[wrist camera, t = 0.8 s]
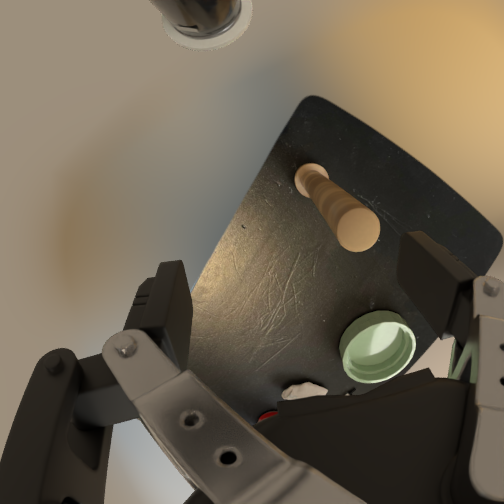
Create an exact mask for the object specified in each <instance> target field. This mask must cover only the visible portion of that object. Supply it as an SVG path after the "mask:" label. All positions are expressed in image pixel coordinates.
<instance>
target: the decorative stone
mask: <svg viewBox="0 0 504 504" xmlns="http://www.w3.org/2000/svg"><path fill="white" fill-rule="evenodd" d="M327 392H328V390H327V389H325V388H324V387H320V386H318V385H314V384H312V383H310V382H305V383H303V384H300V385H292V386H290V387H289V388H287V389H286V390H284V391H283V393H282V397H283V399H288V400H292V399H298V398H304V397H310V396H316V395H326V393H327Z"/></svg>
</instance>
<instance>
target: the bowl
mask: <svg viewBox="0 0 504 504" xmlns="http://www.w3.org/2000/svg"><path fill="white" fill-rule="evenodd" d="M339 351H340V357H341V360H342V364H343V368H344V370H345V371H346V373H347V374H348V376H349V377H351V378H352V379H354V380H356V381H358V382H363V383H377V382H381V381H384V380H387V379H389V378H391V377H393V376H395V375H396V374H398V373H399V372H400V371H401V370H402V369H404V368H405V367H406V366H407V364H408V363H409V361H410V360H411V358H412V357H413V354H414V351H415V337H414V334H413V332H412V330H411V329H410V327H409V325H408V324H407V322H406V321H405V319H403V318H402V317H401V316H400V315H399V314H397V313H394V312H391V311H375V312H371V313H368V314H365V315H363V316H362V317H360V318H358V319H356V320H355V321H354V322H353V323H352V324H351V325H350V326H349V327H348V328H347V329H346V330H345V332H344V334H343V336H342V337H341V340H340V345H339Z"/></svg>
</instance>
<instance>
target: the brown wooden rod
mask: <svg viewBox="0 0 504 504" xmlns="http://www.w3.org/2000/svg"><path fill="white" fill-rule="evenodd" d="M294 182H295V186H296V188H297V189H298V191H299V192H300V193H301V194H302V195H304V196H306V197H310V198H311V199H312V201H313V202H314V204H315V205H316V207H317V208H318V210H319V211H320V213H321V214H322V216H323V217H324V219H325V220H326V222H327V224H328V225H329V227H330V228H331V230H332V231H333V233H334V234H335V236H336V238H337V239H338V241H339V242H340V244H341V245H342V246H343V247H344V248H346V249H347V250H349V251H353V252H360V251H364V250H367V249H368V248H370V247H371V246H372V245H373V244H374V243H375V242H376V240H377V239H378V236H379V233H380V223H379V220H378V218H377V216H376V215H375V214H374V213H373V212H372V211H371V210H370V209H368V208H367V207H366V206H364V205H363V204H362V203H360V202H359V201H358V200H356V199H355V198H354V197H352V196H351V195H350V194H348V193H347V192H346V191H344V190H343V189H342V188H340V187H339V186H338V185H336V184H335V183H333V182H332V181H331V180H329V177H328V174H327V172H326V170H325V169H324V168H323V167H321V166H320V165H318V164H315V163H306V164H303V165H302V166H300V167H299V168H298V169H297V171H296V173H295V176H294Z"/></svg>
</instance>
